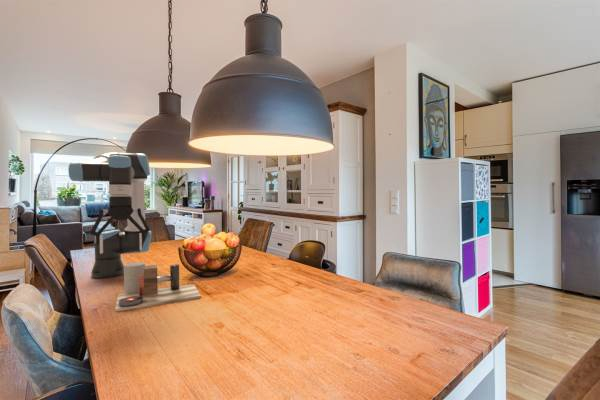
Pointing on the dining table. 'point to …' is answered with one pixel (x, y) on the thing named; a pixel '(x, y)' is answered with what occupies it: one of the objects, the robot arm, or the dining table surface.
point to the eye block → (158, 292)
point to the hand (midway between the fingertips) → (121, 251)
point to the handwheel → (134, 299)
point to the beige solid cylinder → (132, 276)
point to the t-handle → (171, 277)
